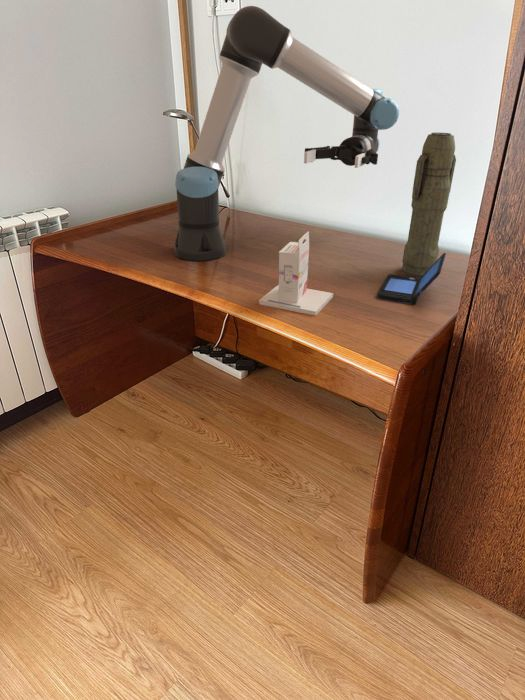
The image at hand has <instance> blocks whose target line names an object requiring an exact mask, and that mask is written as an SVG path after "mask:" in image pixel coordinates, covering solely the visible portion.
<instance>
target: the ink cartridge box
mask: <svg viewBox="0 0 525 700" xmlns="http://www.w3.org/2000/svg"><path fill="white" fill-rule="evenodd" d="M303 242H304V243H303ZM309 255H310V232H309V231H306V232H305V233H304V234H303V235H302V236H301V237H300V238H299V240H298V242H296V241H289V242H288V243H287V244H286V245H285V246H284V247H283V248H282V249H280V250H279V252H278V285H279V295H278V300H281V301H288V302H295V303H298V301H299V300H300V299H301V297H302V296H303V294H304V293H305V292H306V290H307V289H308V273H309Z"/></svg>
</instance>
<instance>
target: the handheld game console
mask: <svg viewBox="0 0 525 700" xmlns="http://www.w3.org/2000/svg"><path fill="white" fill-rule="evenodd" d="M446 255H447V253H446V252H443V253H441V255H440V256H439V257H438V258H437V261H436V262H435V263H434V264H433V265H432V266H431V267H430V269H429V270H428V271H427V272H426V273H425V274H424V275H423V276H420V277H413V276H409V275H408V276H407V275H401V274H399V275H398V274H392V273H391V274H388V275H387V276H386V278H385V279H384V282H383V283H382V285H381V286H380V289H379V290H378V292H377V298H378V299H380V300H384V301H391V302H396V303H401V304H402V303H403V304H409V305H413V306H415V305H416V304H417V302H418V298H419V297H420V296H421V294H423V293H424V292H425V291H426V290H427V288H428V287H430V285H431V284H432V283H434V281H435V280H436V279H437V278H438V277H439V275H440V274H441V272H442V269H443V265H444V262H445V259H446Z"/></svg>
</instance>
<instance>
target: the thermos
mask: <svg viewBox="0 0 525 700" xmlns="http://www.w3.org/2000/svg"><path fill="white" fill-rule="evenodd" d="M455 151H456V143H455V135H453V134H452V133H451V132H430V134H427V137H426V139H425V141H424V143H423V146H422V149H421V154H420V156H419V157H418V159H417V160H416V166H415V170H414V171H415V172H414V179H413V186H412V193H411V209H412V210H411V219H410V222H409V223H410V224H409V231H408V235H407V236H408V237H407V241H406V243H405V245H404V250H403V255H402V267H401V272H402V273H403V274H404V275H405V276H407V275H408V277H415V278H420V276H423V275H424V274H425V273H426V272H427V271H428V270H429V269H430V267H431V266H432V265H433V264H434V263H435V262H436V261H437V260H438V259H439V257H438V256H439V251H440V247H439V240H440V236H441V235H440V234H441V231H442V226H443V220H444V213H445V211H446V210H447V208H448V203H449V197H450V193H451V189H452V188H451V187H452V183H453V178H454V172H455V167H456V162H457V158H456V155H455Z"/></svg>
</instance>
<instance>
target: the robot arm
mask: <svg viewBox="0 0 525 700" xmlns="http://www.w3.org/2000/svg"><path fill="white" fill-rule="evenodd" d="M218 57H219V59H220V62H221V69H220V71H219V75H218V77H217V81H216V85H215V87H214V90H213V93H212V96H211V100H210V102H209V105H208V108H207V112H206V115H205V118H204V121H203V125H202V127H201V131H200V133H199V136H198V140H197V142H196V146H195V149H194V150H193V151H192V152H190V153H188V154H187V156H186V159H185V162H184V163H185V164H184V166H183V168H182V169H180V170H178V171H177V172H176V174H175V188H176V200H177V211H178V212H177V216H178V217H177V218H178V230H177V234H176V239H175V242H174V245H173V246H174V248H173V249H174V255H175V256H176V257H178V258H179V259H181V260H182V259H183V260H187V261H195V262H196V261H200V262H201V261H202V262H204V261H211V260H216V259H220V258H222V257H224V256H225V255H226V253H227V246H226V242H225V240H224V236H223V234H222V233H223V232H222V231H221V228H220V209H219V208H220V205H219V203H220V202H219V197H220V196H219V187H220V184H221V181H222V178H223V177H224V173H225V167H224V165H223V160H224V158H225V154H226V151H227V149H228V146H229V143H230V140H231V138H232V134H233V131H234V129H235V125H236V123H237V120H238V119H239V118H238V117H239V114H240V112H241V109H242V106H243V103H244V100H245V97H246V94H247V91H248V88H249V86H250V84H251V80H252V79H253V78H254V77H257V76H258V75H259V74H260V71H261V68H262V65H264V66H267V67H268V68H269V69H272V70H273V69H276V68H277V69H279V70H281V71H282V72H284V73H286V74H287V75H289V76H291V77H292V78H295V79H296V80H297V81H299V82H300V83H302V84H304V85H305V86H307V87H308V88H310V89H311V90H314V91H315V92H316V93H318V94H320V95H321V96H323V97H325V98H327V100H329V101H331V102H333V103H334V104H336V105H337V106H340V107H341V108H342V109H344V110H346V111H347V112H349V113H351V114H352V115H353V123H352V135H351V136H350V137H347V138H345V139H344V140H343V141H341V142H340V144H339V145H338V146H336V145H335V146H334V145H333V146H330V145H327V146H319V147H310V148H309V147H306V148H304V155H303V157H304V158H303V164H309V163H313V162H315V161H316V160H325V159H326V160H327V159H330V160H331V161H332V160H333V161H337V160H338V161H340V162H341V163H343V164H344V165H345V166H349V167H352V166H354V168H355V169H358V168H360V167H362V166H365V165H370V164H372V165H375V166H376V165H378V159H379V155H378V154H379V153H378V151H379V148H380V140H379V137H378V136H379V130H380V131H382V130H383V131H384V130H388V129H391V128H392V127H393V126H394V125H395V124H396V123H397V122H398V119H399V116H400V107H399V106H398V104H397V102H395V101H394V100H392V99H391V98H390V97H389V98H388V97H385V96H384V95H383V91H382V90H381V88H371V87H369V86H368V85H366V83H364V82H362V81H361V80H359V79H357V78H356V77H355V76H353V75H351V73H348V72H347V71H346V70H344V69H343V68H340V67H339V66H337V65H336V64H335V63H333V62H332V61H330V60H328V59H326V58H325V57H323V55H320V54H319V53H318V52H316V51H314V50H313V49H311V48H310V47H308V46H307V45H305V44H304V43H302V42H301V41H299V40H298V39H297V38H294V37H293V34H292V30H291V29H290V28H288V27H287V26H286V25H284V24H283V23H281V22H279V21H278V20H277V19H276V18H275V17H273V16H272V15H271V14H269V12H267V11H266V10H265V9H263V8H261V7H259V6H254V5H247V6H244V7H242V8H240V9H239V10H238V11H236V12H235V13H234V15H233V16H232V18H231V19H230V21H229V22H228V25H227V27H226V35H225V37H224V41H223V43H222V46H221V50H220V53H219V56H218Z"/></svg>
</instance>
